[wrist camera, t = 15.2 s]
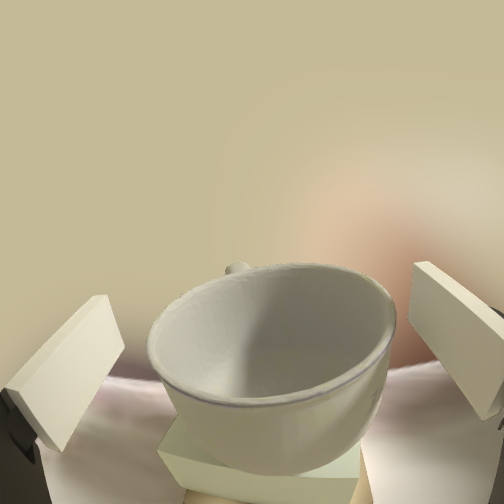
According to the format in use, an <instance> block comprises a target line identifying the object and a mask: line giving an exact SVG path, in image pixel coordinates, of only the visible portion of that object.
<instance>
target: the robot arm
mask: <svg viewBox="0 0 504 504" xmlns="http://www.w3.org/2000/svg"><path fill="white" fill-rule="evenodd" d="M408 321H409V323H410V324H411V325H412V326H413V327H414V329H415V330H416V331H417V332H418V334H419V335H420V336H421V338H422V339H423V340H424V341H425V343H426V344H427V345H428V346H429V348H430V349H431V350H432V352H433V353H434V354H435V356H436V357H437V358H438V360H439V361H440V362H441V364H442V365H443V366H444V368H445V369H446V370H447V372H448V373H449V374H450V376H451V377H452V379H453V380H454V381H455V383H456V384H457V386H458V387H459V388H460V390H461V391H462V393H463V394H464V395H465V397H466V398H467V400H468V401H469V403H470V404H471V406H472V407H473V409H474V410H475V412H476V413H477V415H478V416H479V418H480V419H481V421H482V422H483V421H485V420H487V419H489V418H491V417H493V416H495V415H496V414H498V413H499V412H500V410H501V408H502V407H503V405H504V314H503V313H501V312H500V311H498V310H496V309H494V308H492V307H489V306H487V305H486V304H485V303H483V302H482V301H481V300H480V299H478V298H477V297H476V296H475V295H473V294H472V293H471V292H469V291H468V290H467V289H465V288H464V287H463V286H462V285H460V284H459V283H457V282H456V281H455V280H454V279H452V278H451V277H449V276H448V275H446V274H445V273H444V272H442V271H441V270H440V269H438V268H437V267H436V266H434V265H433V264H431V263H430V262H429V261H426V262H418V263H413V275H412V286H411V296H410V305H409V313H408ZM124 347H125V346H124V344H123V341H122V338H121V335H120V332H119V329H118V327H117V324H116V321H115V318H114V315H113V312H112V309H111V306H110V303H109V299H108V296H107V295H95V296H93V297H91V298H90V299H89V300H88V301H87V302H86V303H85V304H84V305H83V306H82V307H81V308H80V309H79V310H78V311H77V312H76V313H75V314H74V315H73V316H72V317H71V318H70V319H69V320H68V321H67V322H66V323H64V324H63V325H62V327H60V328H59V329H58V330H57V332H55V333H54V335H53V336H52V337H51V338H50V339H49V340H48V341H47V342H46V343H45V344H44V345H43V346H42V347H41V348H40V349H39V350H38V351H37V352H36V353H35V354H34V355H33V357H32V358H31V359H29V361H28V362H27V363H26V364H25V365H24V366H23V367H22V368H21V369H20V370H19V372H18V373H17V374H16V375H15V376H14V377H13V378H12V379H11V380H10V381H9V383H8V384H7V385H6V386H5V387H4V389H3V390H2V391H1V392H0V504H52V502H51V498H50V495H49V491H48V487H47V483H46V479H45V475H44V470H43V466H42V461H41V456H40V450H39V447H38V445H37V444H36V443H35V440H36V438H37V436H38V437H39V438H40V439H41V441H42V442H43V443H44V444H45V446H46V447H48V448H51V449H54V450H57V451H60V452H63V450H64V448H65V446H66V444H67V443H68V441H69V439H70V437H71V435H72V434H73V432H74V430H75V428H76V427H77V425H78V423H79V421H80V420H81V418H82V416H83V415H84V413H85V411H86V409H87V408H88V406H89V404H90V403H91V401H92V399H93V398H94V396H95V394H96V393H97V391H98V389H99V388H100V386H101V384H102V383H103V381H104V379H105V378H106V376H107V374H108V373H109V371H110V370H111V368H112V366H113V365H114V363H115V362H116V360H117V359H118V357H119V355H120V354H121V352H122V351H123V349H124ZM503 425H504V418H503V420H502V421H501V423H500V425H499V427H498V430H501V428H502V427H503ZM488 504H504V439H503V445H502V451H501V456H500V461H499V466H498V470H497V474H496V478H495V482H494V486H493V490H492V493H491V496H490V500H489V503H488Z"/></svg>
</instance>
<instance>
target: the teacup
mask: <svg viewBox="0 0 504 504" xmlns="http://www.w3.org/2000/svg"><path fill="white" fill-rule="evenodd" d="M395 328H396V309H395V305H394V302H393V300H392V298H391V296H390V295H389V292H388V291H387V290H386V289H385V288H384V287H383V286H381V284H380V283H379V282H377V281H376V280H374V279H372V278H370V277H369V276H367V275H365V274H362V273H359V272H357V271H355V270H352V269H348V268H345V267H341V266H335V265H329V264H319V263H287V264H276V265H269V266H264V267H255V268H252V269H251V268H250V267H249V265H248V264H247V263H244V262H239V263H235V264H232V265H230V266H228V267H227V268H226V271H225V275H224V276H221V277H219V278H216V279H214V280H211V281H208V282H206V283H204V284H202V285H199V286H197V287H195V288H193V289H191V290H189V291H188V292H186V293H184V294H182V296H180V297H179V298H177V299H176V300H175V301H173V302H172V303H171V304H169V305H168V306H167V307H166V308H165V310H164V311H162V312H161V313H160V314H159V315H158V317H157V318H156V320H155V322H154V323H153V325H152V326H151V327H150V330H149V333H148V336H147V341H146V350H147V355H148V358H149V361H150V364H151V366H152V368H153V369H154V371H155V372H156V374H157V375H158V376H159V378H160V379H161V380H162V382H163V385H164V387H165V389H166V391H167V393H168V395H169V397H170V399H171V401H172V403H173V405H174V407H175V409H176V410H177V412H178V414H179V416H180V418H181V419H182V421H183V423H184V424H185V426H186V427H187V429H188V430H189V432H190V433H191V435H192V436H193V437H194V438H195V440H196V441H197V442H198V443H199V444H200V446H201V447H202V448H203V449H205V450H206V451H207V452H208V453H209V454H210V455H211V456H213V457H214V458H216V459H217V460H219V461H220V462H222V463H224V464H226V465H228V466H230V467H232V468H235V469H237V470H240V471H243V472H247V473H251V474H256V475H262V476H287V475H295V474H301V473H305V472H309V471H312V470H314V469H317V468H320V467H322V466H325V465H327V464H329V463H331V462H332V461H334V460H336V459H337V458H339V457H341V456H342V455H343V454H345V453H346V452H348V451H349V450H350V449H351V448H352V447H353V446H354V445H355V444H356V443H357V442H358V441H359V440H360V439H361V438H362V437H363V435H364V434H365V433H366V432H367V430H368V428H369V427H370V425H371V424H372V422H373V420H374V418H375V416H376V413H377V411H378V408H379V406H380V402H381V399H382V395H383V391H384V387H385V382H386V377H387V372H388V365H389V358H390V350H391V341H392V339H393V337H394V333H395Z"/></svg>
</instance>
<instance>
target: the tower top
mask: <svg viewBox="0 0 504 504" xmlns="http://www.w3.org/2000/svg"><path fill="white" fill-rule="evenodd" d="M360 445H361V439H360V440H359V441H358V442H357V443H356V444H355V445H354V446H353V447H352V448H351V449H350V450H349V451H348V452H346V453H345V454H343V455H342V456H341V457H339V458H337V459H336V460H334V461H332V462H331V463H329V464H327V465H325V466H322V467H320V468H317V469H314V470H312V471H309V472H305V473H301V474H295V475H287V476H262V475H256V474H251V473H247V472H243V471H240V470H237V469H235V468H232V467H230V466H228V465H226V464H224V463H222V462H220V461H219V460H217V459H216V458H214V457H213V456H211V455H210V454H209V453H208V452H207V451H206V450H205V449H203V448H202V447H201V446H200V444H199V443H198V442H197V441H196V440H195V438H194V437H193V436H192V435H191V433H190V432H189V430H188V429H187V427H186V426H185V424H184V423H183V421H182V419H181V418H180V416H179V414H178V415H177V417H176V418H175V420H174V422H173V423H172V425H171V426H170V428H169V430H168V431H167V433H166V434H165V436H164V438H163V439H162V441H161V442H160V444H159V446H158V447H157V449H156V451H157V452H158V454H159V455H160V457H161V459H162V460H163V462H164V463H165V465H166V466H167V468H168V469H169V471H170V472H171V474H172V475H173V477H174V478H175V480H176V481H177V483H178V484H179V485H180V487H182V488H186V489H189V490H193V491H196V492H200V493H204V494H208V495H212V496H216V497H221V498H226V499H230V500H236V501H241V502H247V503H253V504H350V502H351V499H352V497H353V494H354V491H355V489H356V486H357V483H358V480H359V474H360Z"/></svg>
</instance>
